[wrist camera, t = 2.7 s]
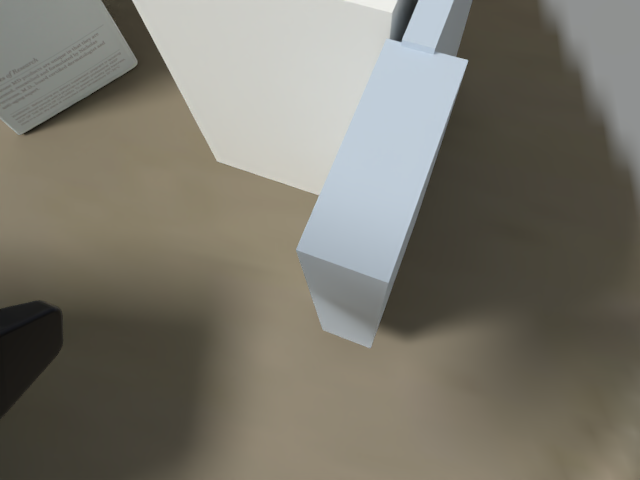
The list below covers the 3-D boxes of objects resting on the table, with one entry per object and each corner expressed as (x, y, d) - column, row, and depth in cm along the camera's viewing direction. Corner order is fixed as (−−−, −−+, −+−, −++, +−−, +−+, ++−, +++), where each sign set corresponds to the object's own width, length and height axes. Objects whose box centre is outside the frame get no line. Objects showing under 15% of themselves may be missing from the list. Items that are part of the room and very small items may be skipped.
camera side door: (369, 351, 20) (389, 280, 10) (324, 333, 20) (294, 246, 10) (469, 71, 24) (556, -186, 14) (429, 61, 25) (485, -198, 14)
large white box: (374, 213, 23) (398, -7, 11) (217, 161, 24) (87, -85, 12) (434, 58, 25) (505, -254, 14) (289, 19, 27) (240, -294, 15)
